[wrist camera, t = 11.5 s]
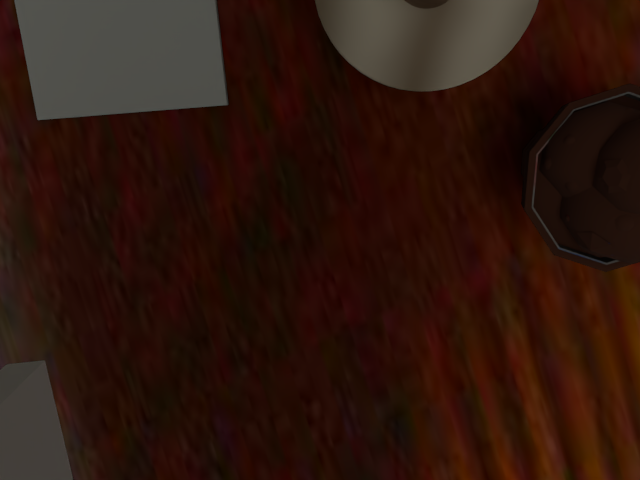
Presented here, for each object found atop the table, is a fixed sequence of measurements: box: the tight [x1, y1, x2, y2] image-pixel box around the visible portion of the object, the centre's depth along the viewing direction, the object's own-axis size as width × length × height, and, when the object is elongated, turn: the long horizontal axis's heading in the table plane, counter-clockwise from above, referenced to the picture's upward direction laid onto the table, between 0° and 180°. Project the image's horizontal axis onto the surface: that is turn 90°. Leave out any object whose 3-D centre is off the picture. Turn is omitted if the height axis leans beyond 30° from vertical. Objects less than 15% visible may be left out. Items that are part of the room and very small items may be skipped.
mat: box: [14, 0, 229, 120], centre depth 42 cm, size 14×14×1 cm
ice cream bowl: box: [521, 84, 640, 272], centre depth 37 cm, size 11×11×15 cm
